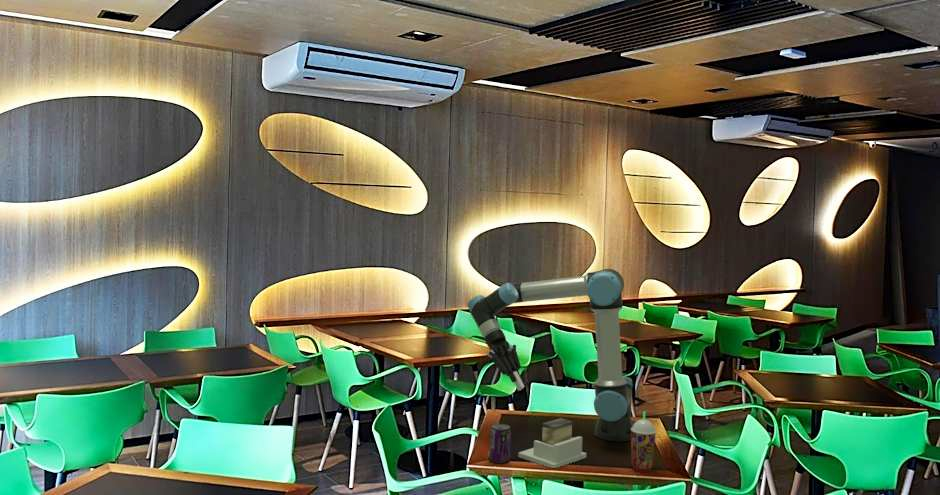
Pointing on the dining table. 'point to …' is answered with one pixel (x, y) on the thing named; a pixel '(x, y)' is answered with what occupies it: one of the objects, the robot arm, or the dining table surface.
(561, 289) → the robot arm
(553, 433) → the grey and beige block
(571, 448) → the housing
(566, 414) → the dining table surface
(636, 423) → the smoothie
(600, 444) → the dining table surface
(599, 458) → the dining table surface
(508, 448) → the beverage can
